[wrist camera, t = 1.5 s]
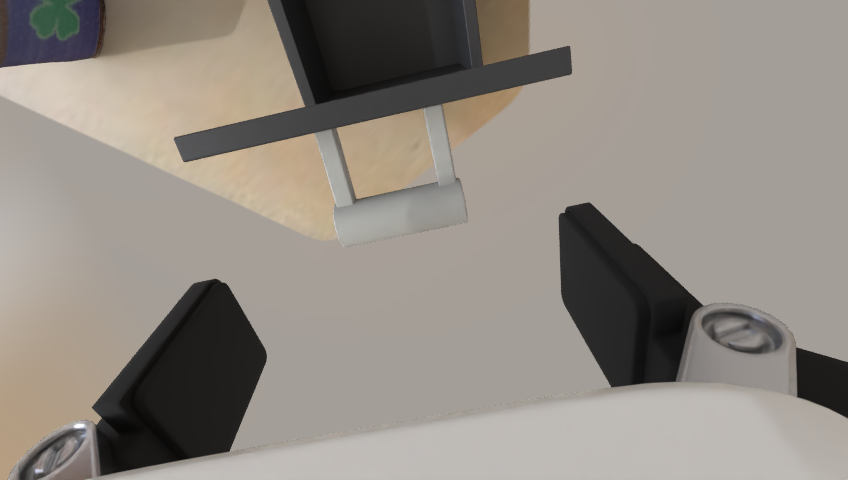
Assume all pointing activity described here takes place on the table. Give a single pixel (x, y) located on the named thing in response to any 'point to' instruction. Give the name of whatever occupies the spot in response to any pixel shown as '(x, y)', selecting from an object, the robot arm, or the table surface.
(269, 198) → the table surface
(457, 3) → the dark grey hinged box
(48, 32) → the flask
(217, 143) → the lid
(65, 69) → the table surface
